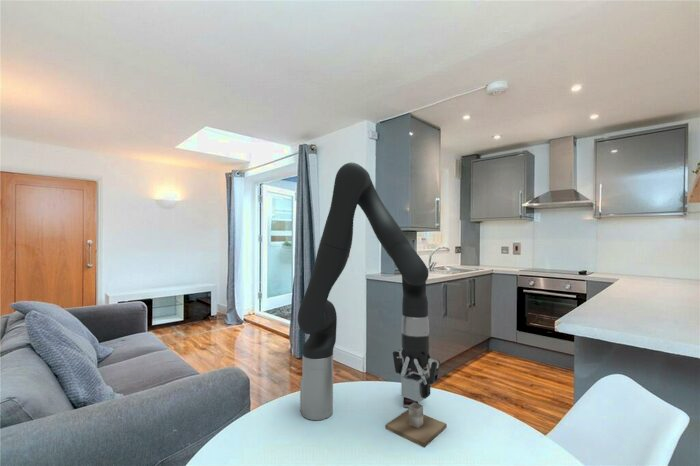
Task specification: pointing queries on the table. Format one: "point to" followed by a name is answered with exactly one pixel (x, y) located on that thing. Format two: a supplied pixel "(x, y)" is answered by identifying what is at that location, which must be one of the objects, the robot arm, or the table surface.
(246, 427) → the table surface
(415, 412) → the post stand
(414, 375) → the collar
